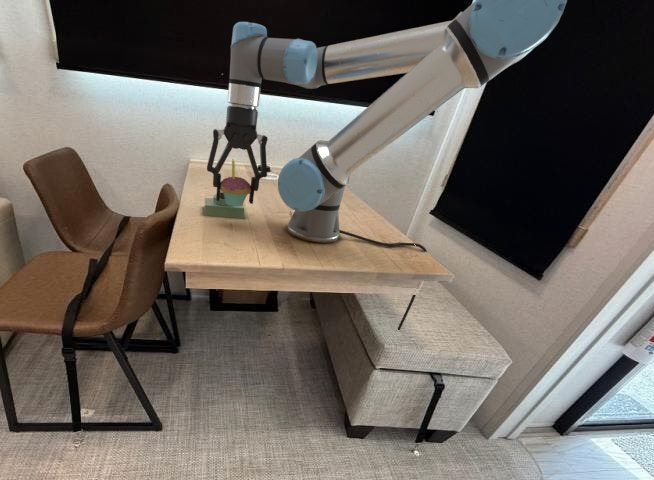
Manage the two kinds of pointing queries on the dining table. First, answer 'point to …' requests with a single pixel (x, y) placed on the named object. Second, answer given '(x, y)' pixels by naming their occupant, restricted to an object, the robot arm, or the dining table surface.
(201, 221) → the dining table surface
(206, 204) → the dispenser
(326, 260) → the dining table surface
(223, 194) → the pump
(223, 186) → the cupcake
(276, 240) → the dining table surface
